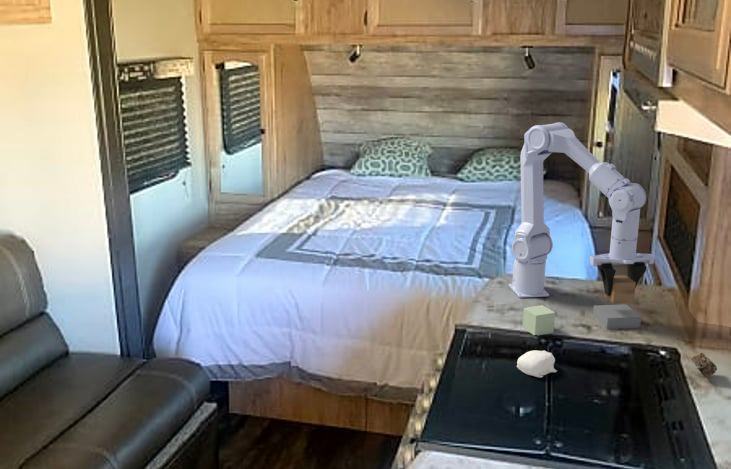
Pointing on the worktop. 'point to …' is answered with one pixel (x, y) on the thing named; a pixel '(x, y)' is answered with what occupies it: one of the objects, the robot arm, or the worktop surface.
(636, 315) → the slate tile
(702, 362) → the rock
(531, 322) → the sage cube
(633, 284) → the walnut cube
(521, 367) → the white frog figurine
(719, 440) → the worktop surface
